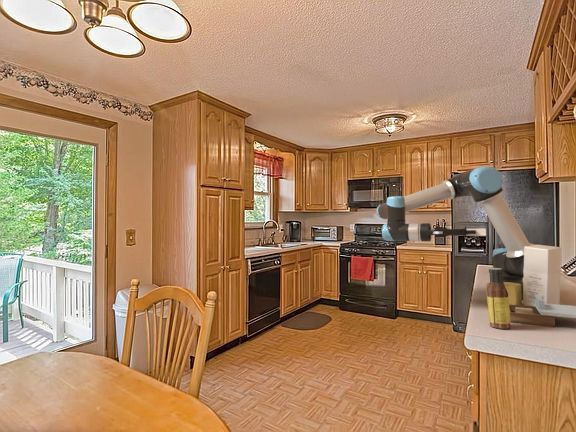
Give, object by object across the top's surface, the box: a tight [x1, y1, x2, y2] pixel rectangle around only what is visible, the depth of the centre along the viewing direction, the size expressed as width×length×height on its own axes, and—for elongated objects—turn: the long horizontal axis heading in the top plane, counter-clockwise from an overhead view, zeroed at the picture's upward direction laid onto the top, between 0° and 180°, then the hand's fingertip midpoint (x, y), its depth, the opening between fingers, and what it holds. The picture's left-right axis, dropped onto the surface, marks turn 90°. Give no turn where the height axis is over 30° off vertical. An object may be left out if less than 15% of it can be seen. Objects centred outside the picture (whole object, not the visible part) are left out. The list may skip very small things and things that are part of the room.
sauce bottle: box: [486, 267, 512, 330], centre depth 113 cm, size 6×6×20 cm
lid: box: [534, 296, 576, 319], centre depth 117 cm, size 15×13×4 cm
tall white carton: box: [522, 244, 562, 306], centre depth 133 cm, size 9×9×25 cm
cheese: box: [485, 282, 523, 305], centre depth 139 cm, size 10×11×10 cm
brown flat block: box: [509, 304, 556, 328], centre depth 121 cm, size 14×13×4 cm
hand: (485, 231), depth 128 cm, fingers closed
